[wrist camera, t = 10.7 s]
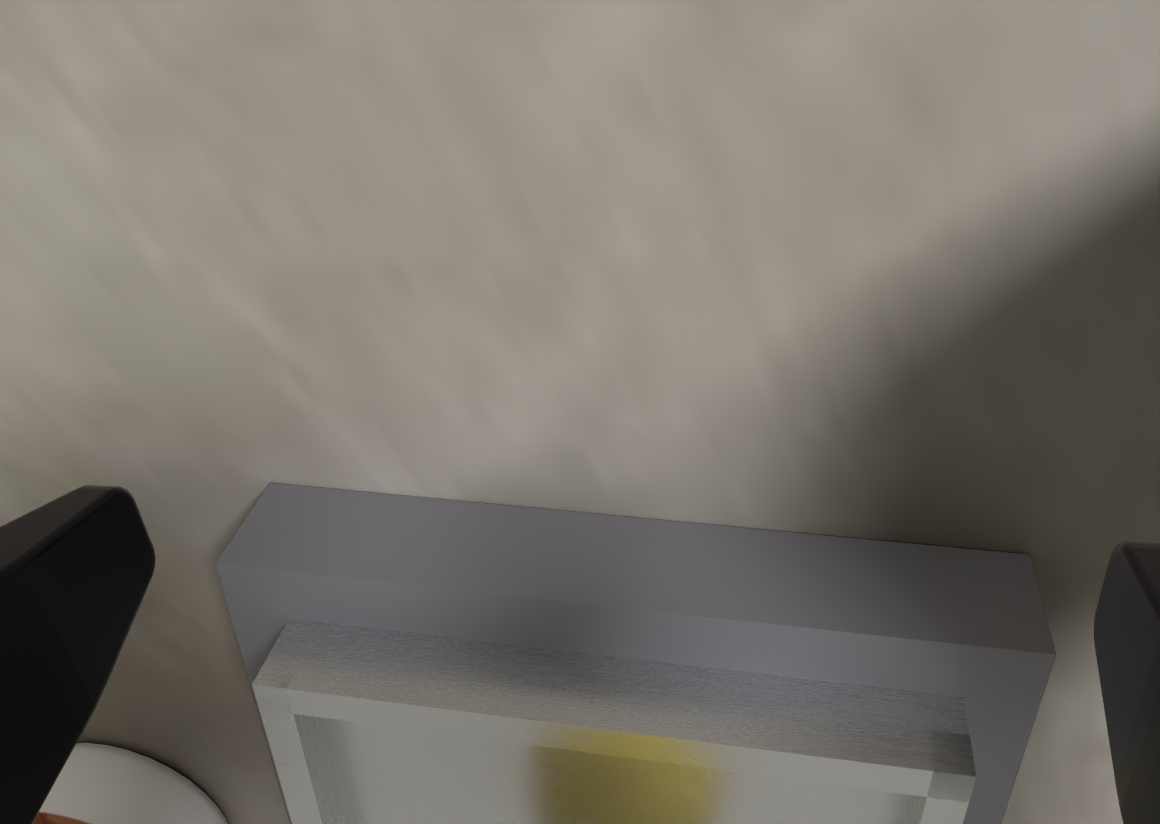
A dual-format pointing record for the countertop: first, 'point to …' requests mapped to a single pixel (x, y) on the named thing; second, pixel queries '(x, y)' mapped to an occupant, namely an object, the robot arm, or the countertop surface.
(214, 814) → the milk bottle
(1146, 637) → the robot arm
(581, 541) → the base
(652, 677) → the scale pan
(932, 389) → the countertop surface
